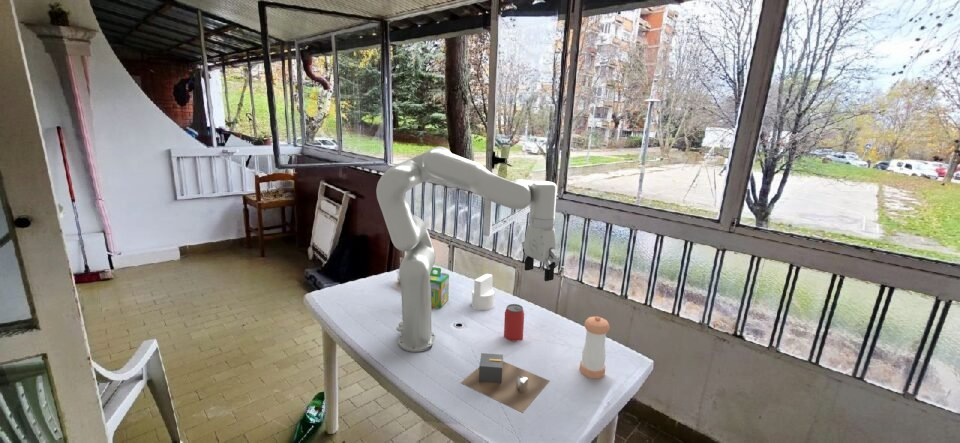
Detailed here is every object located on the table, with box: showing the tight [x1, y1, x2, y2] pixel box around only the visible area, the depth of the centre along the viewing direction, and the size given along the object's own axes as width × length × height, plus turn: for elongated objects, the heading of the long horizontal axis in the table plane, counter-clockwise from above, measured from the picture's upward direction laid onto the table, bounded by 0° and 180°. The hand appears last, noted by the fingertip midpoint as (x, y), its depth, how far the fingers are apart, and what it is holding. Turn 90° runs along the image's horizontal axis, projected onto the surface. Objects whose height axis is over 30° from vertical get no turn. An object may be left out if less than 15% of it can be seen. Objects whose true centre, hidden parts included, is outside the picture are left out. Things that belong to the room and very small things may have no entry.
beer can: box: [503, 303, 525, 342], centre depth 139 cm, size 7×7×12 cm
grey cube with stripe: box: [478, 352, 504, 383], centre depth 118 cm, size 6×6×5 cm
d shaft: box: [516, 376, 528, 393], centre depth 113 cm, size 3×3×3 cm
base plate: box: [460, 360, 551, 414], centre depth 116 cm, size 20×16×2 cm
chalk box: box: [430, 266, 450, 309], centre depth 165 cm, size 9×9×15 cm
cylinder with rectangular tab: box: [471, 273, 496, 311], centre depth 164 cm, size 9×9×12 cm
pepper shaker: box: [579, 316, 611, 379], centre depth 120 cm, size 7×7×19 cm
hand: (538, 274), depth 129 cm, fingers open, 9 cm apart
